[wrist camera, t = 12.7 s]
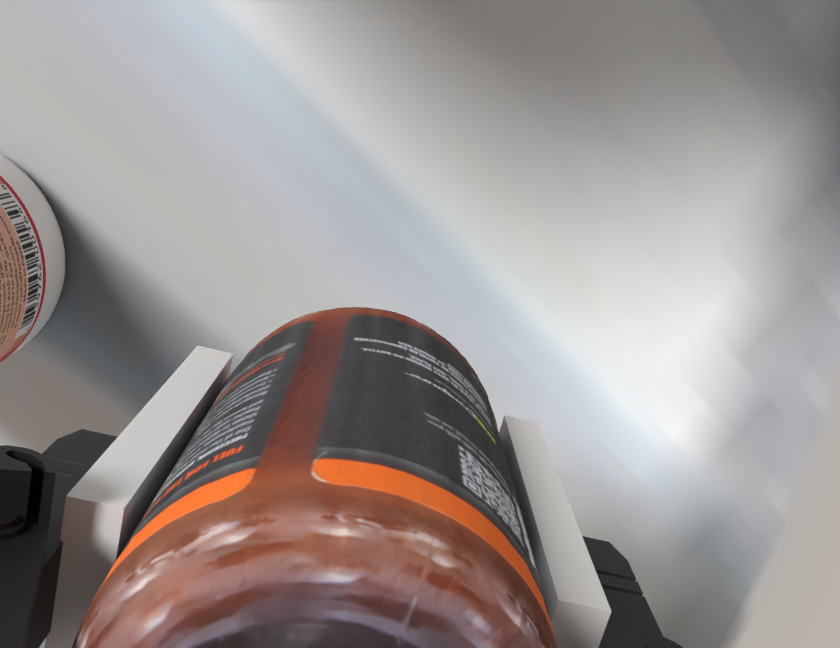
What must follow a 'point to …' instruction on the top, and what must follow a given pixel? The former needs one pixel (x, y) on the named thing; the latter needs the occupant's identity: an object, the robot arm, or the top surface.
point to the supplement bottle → (333, 507)
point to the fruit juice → (26, 259)
